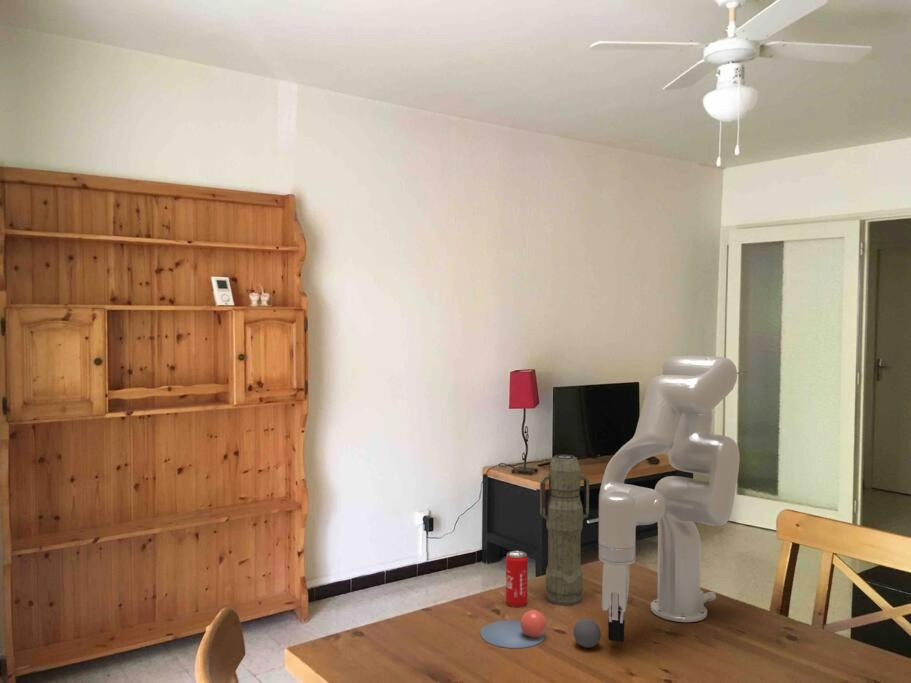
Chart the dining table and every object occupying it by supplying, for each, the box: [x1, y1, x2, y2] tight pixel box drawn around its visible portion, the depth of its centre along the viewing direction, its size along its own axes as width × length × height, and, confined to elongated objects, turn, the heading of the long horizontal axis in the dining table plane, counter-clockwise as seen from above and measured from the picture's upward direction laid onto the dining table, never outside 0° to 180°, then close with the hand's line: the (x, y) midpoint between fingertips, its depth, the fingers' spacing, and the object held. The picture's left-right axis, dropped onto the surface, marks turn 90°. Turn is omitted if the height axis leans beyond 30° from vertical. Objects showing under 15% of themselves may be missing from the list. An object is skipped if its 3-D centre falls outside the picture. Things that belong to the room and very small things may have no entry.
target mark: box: [480, 619, 546, 649], centre depth 159 cm, size 14×14×1 cm
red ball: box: [520, 609, 547, 638], centre depth 158 cm, size 6×6×6 cm
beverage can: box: [505, 550, 529, 608], centre depth 176 cm, size 5×5×12 cm
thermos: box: [539, 454, 590, 606], centre depth 179 cm, size 9×12×35 cm
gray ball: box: [573, 618, 602, 649], centre depth 153 cm, size 6×6×6 cm
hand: (616, 639), depth 153 cm, fingers closed
